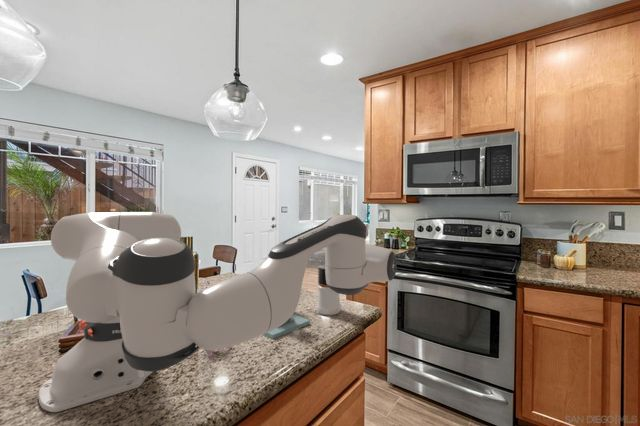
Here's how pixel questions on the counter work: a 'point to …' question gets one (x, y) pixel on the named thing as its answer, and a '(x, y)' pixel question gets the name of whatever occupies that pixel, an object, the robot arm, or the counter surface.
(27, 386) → the counter surface
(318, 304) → the vodka
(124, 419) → the counter surface
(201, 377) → the counter surface
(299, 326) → the board
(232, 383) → the counter surface
